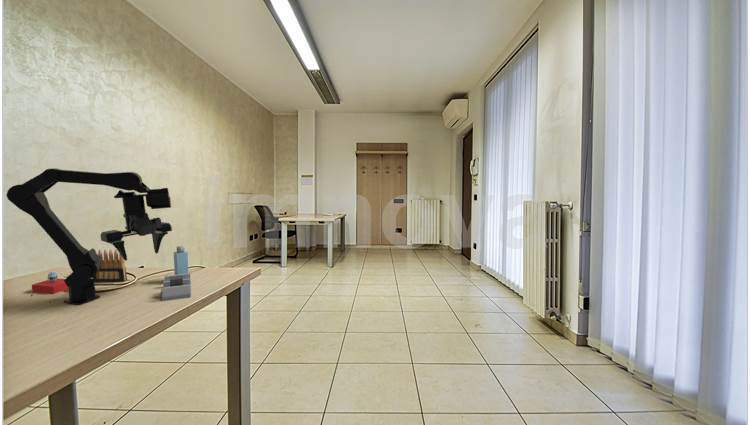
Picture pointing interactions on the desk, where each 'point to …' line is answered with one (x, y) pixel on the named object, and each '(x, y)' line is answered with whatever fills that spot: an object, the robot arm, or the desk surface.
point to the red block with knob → (50, 285)
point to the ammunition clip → (111, 268)
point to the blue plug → (180, 261)
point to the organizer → (176, 287)
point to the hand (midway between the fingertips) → (141, 256)
